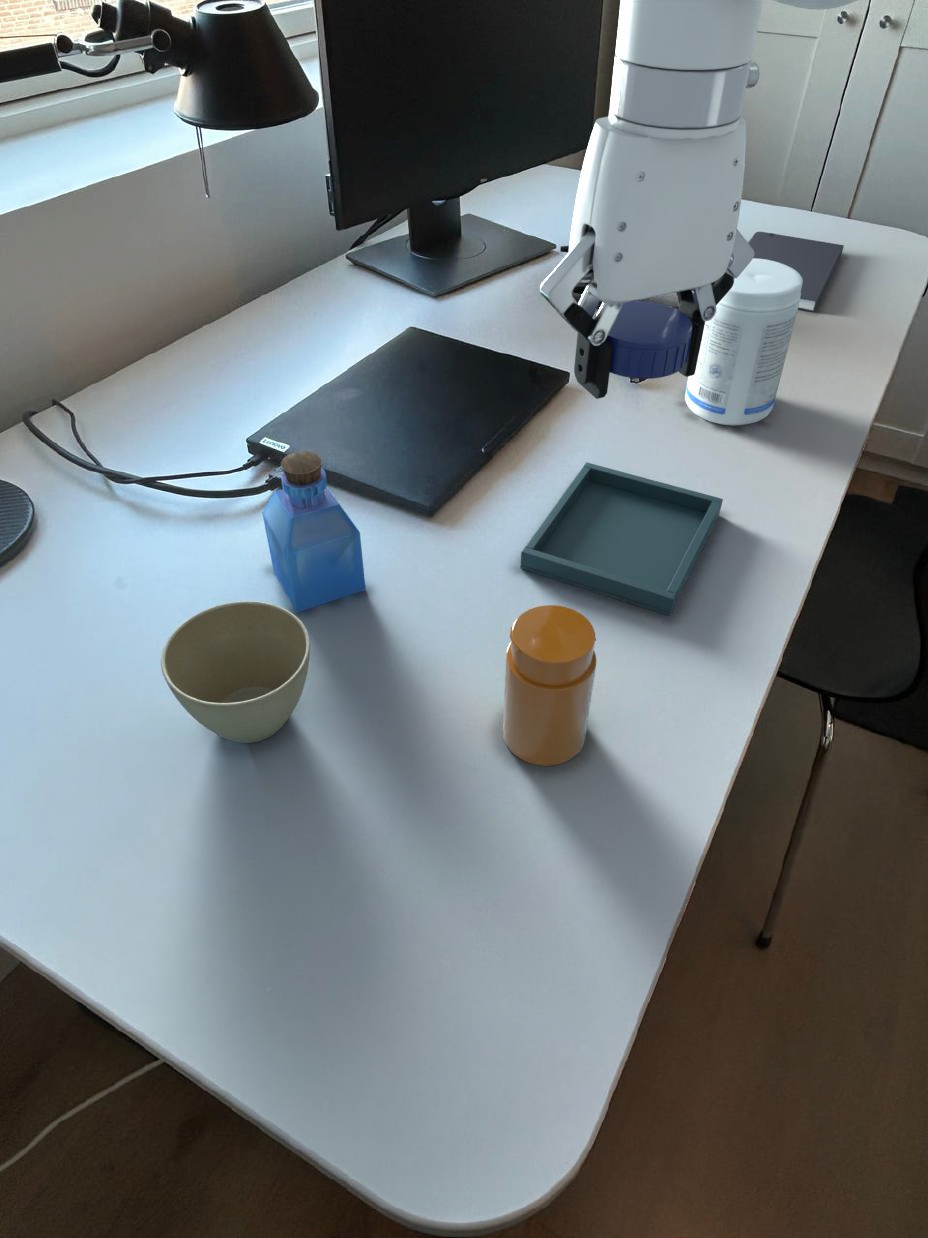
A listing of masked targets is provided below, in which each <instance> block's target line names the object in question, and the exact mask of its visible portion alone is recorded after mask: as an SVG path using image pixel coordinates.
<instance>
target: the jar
mask: <svg viewBox="0 0 928 1238" xmlns="http://www.w3.org/2000/svg"><path fill="white" fill-rule="evenodd" d="M509 639H510V643H509V644H508V647H507V649H506V652H505V653H506V654H505V671H504V673H505V674H504V693H503V717H502V737H503V740H504V743H505V745H506V747H507V748H508V750H509V751H510V752H511V753H512V754H513V755H515V756H516V757H517V758H519V759H520V760H522V761H524V762H526V763H529V764H531V765H536V766H543V767H544V766H545V767H550V766H557V765H562V764H564V763H566V762H569V761H570V760H571V759H574V757H576V756H577V755H578V754H579V753H580V752H581V750H582V749H583V747H584V745H585V741H586V736H587V729H588V723H589V715H590V709H591V702H592V696H593V688H594V682H595V676H596V669H597V654H596V652H595V644H596V642H597V638H596V632H595V629H594V626H593V624H592V623H591V621H590V620H589V619H588V618H587V617H586V616H584V614H582V613H581V612H579V611H577V610H575V609H573V608H570V607H567V606H562V605H555V604H549V605H547V604H546V605H540V606H535V607H532V608H530V609H528V610H526V611H524V612H523V613H521V614H520V615H519V616H518V617H517V618H516V619H515V620H514V621H513V623H512V625H511V627H510V631H509Z"/></svg>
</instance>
